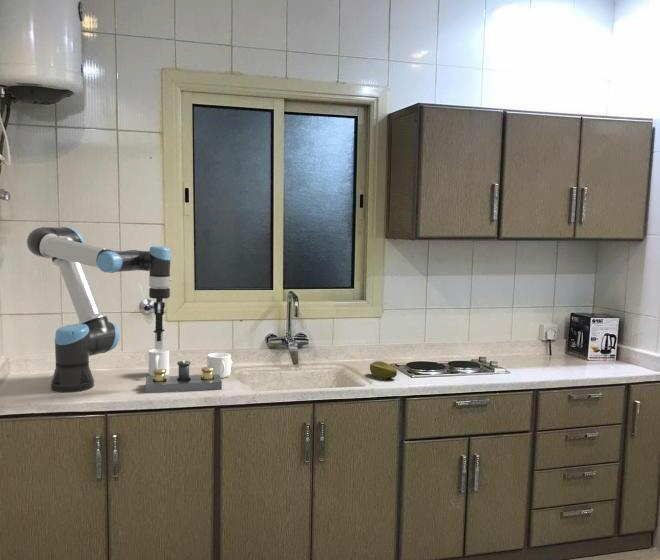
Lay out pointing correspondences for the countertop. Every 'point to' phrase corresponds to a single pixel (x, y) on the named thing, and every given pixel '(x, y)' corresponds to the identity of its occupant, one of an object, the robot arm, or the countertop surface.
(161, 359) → the mug
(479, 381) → the countertop surface
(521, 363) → the countertop surface
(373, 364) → the fruit
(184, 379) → the knob mid
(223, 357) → the mug
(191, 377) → the mount plate
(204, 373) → the knob far
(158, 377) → the knob near
